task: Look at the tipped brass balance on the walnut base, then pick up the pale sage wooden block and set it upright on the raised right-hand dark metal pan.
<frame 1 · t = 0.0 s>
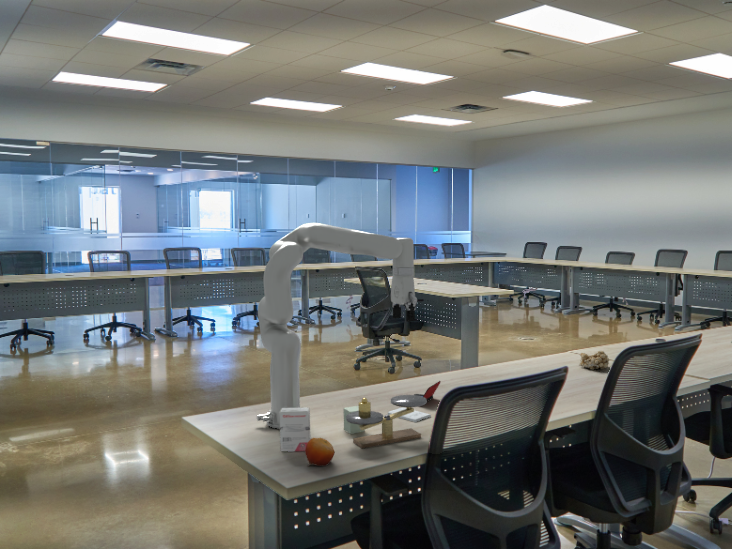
hand: (403, 319, 217), 31 cm above the table, tool pointing down, fingers open, 9 cm apart
handheld game console: (422, 402, 224), on the table
balance: (387, 439, 182), on the table
ink box: (295, 449, 176), on the table
mineral formation: (594, 369, 273), on the table
sage block: (354, 430, 192), on the table
fruit: (320, 464, 164), on the table
external hard drive: (409, 418, 207), on the table
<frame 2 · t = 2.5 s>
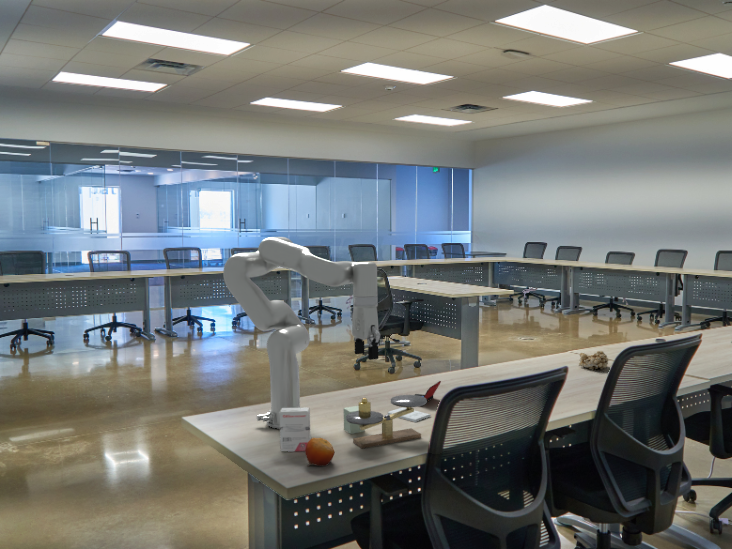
hand: (366, 356, 188), 24 cm above the table, tool pointing down, fingers open, 9 cm apart
nothing on the table moved.
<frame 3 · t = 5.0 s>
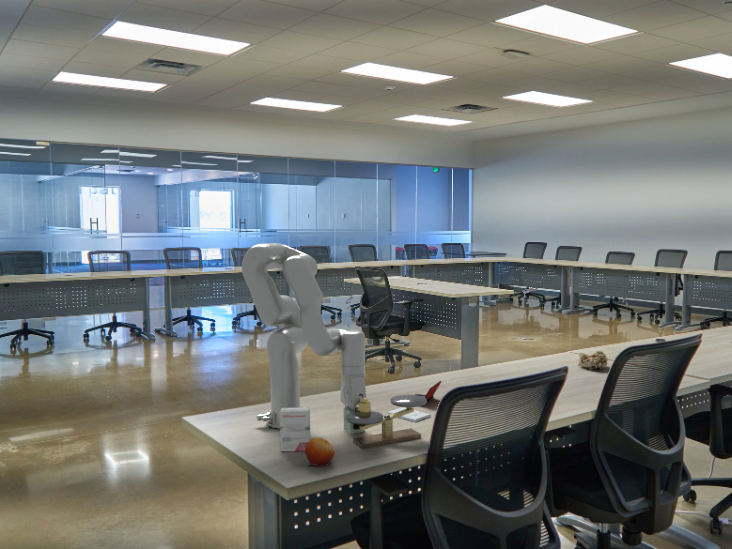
hand: (354, 425, 192), 1 cm above the table, tool pointing down, fingers closed on sage block, 5 cm apart
sage block: (354, 430, 192), on the table, touching gripper
everything else where it was.
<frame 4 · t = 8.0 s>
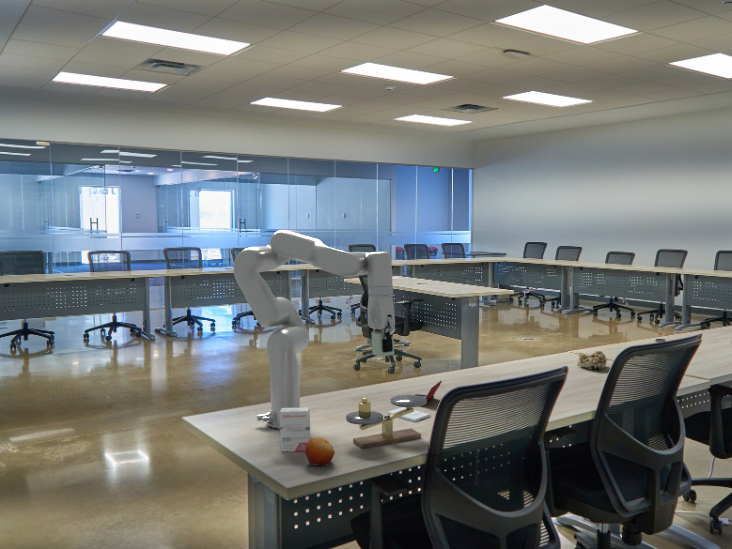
hand: (383, 349, 187), 26 cm above the table, tool pointing down, fingers closed on sage block, 5 cm apart
sage block: (383, 354, 187), point 25 cm above the table, touching gripper
everything else where it was.
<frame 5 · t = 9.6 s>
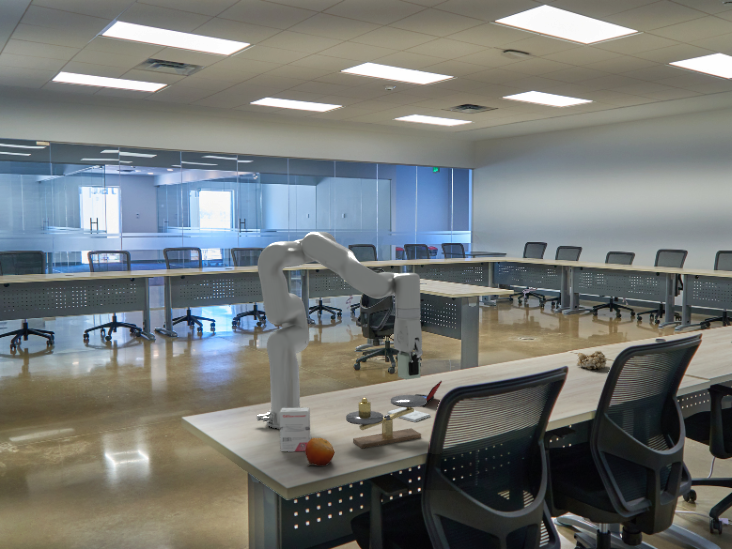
hand: (408, 372, 184), 20 cm above the table, tool pointing down, fingers closed on sage block, 5 cm apart
sage block: (409, 376, 184), point 18 cm above the table, touching gripper
when the fingers open (14 cm above the table, at t = 11.0 s): sage block drops 1 cm, resting on balance.
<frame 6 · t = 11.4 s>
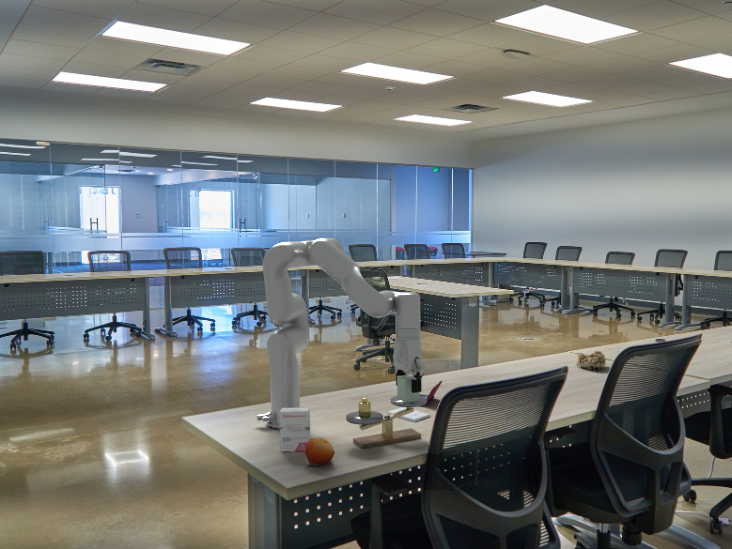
hand: (408, 388, 185), 15 cm above the table, tool pointing down, fingers open, 9 cm apart
sage block: (408, 399, 185), point 11 cm above the table, touching balance
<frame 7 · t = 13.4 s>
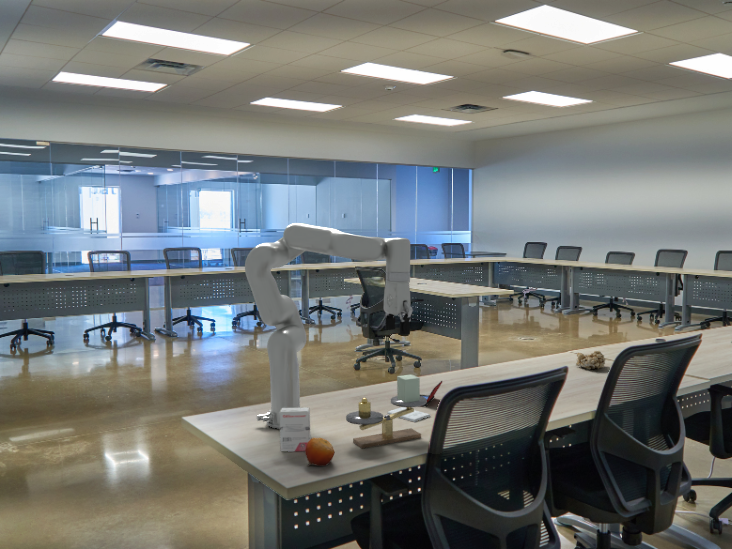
hand: (397, 331, 190), 31 cm above the table, tool pointing down, fingers open, 9 cm apart
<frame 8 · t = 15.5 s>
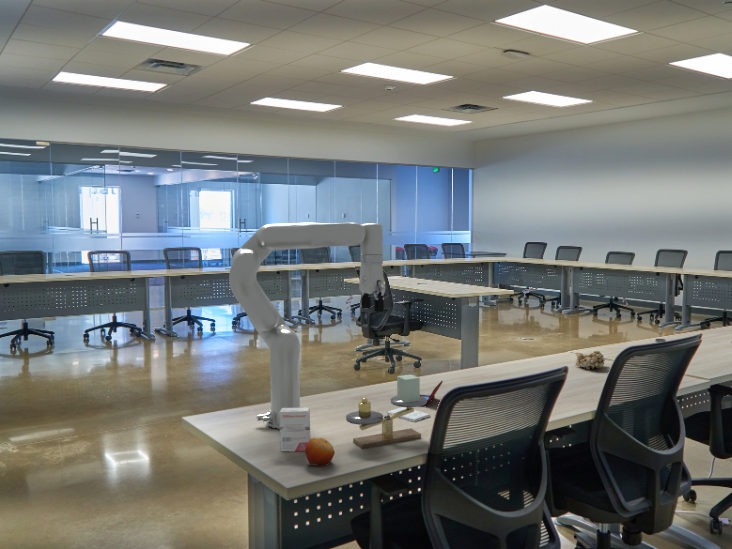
hand: (372, 309, 206), 36 cm above the table, tool pointing down, fingers open, 9 cm apart
at the end: sage block inside the target area on the balance (0.1 cm from its centre), point 11.4 cm above the balance's base; sage block tilted 0°; the gripper is holding nothing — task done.
